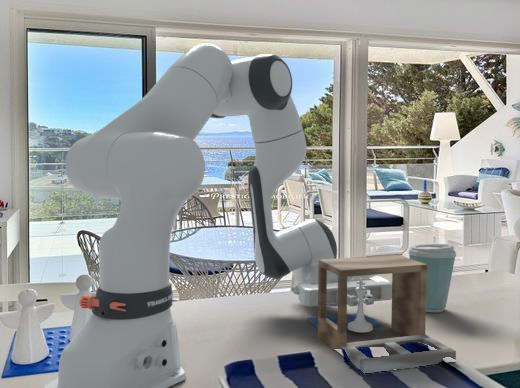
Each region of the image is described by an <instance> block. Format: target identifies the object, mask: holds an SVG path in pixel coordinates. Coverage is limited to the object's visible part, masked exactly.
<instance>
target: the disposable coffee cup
mask: <svg viewBox="0 0 520 388" xmlns="http://www.w3.org/2000/svg"><path fill="white" fill-rule="evenodd" d="M407 253H408V256H409V259H412V260H415V261H418V262H421V263H424V264H427V283H426V313H442V312H444V311H445V310H446V307H447V302H448V297H449V292H450V287H451V281H452V275H453V271H454V266H455V259H456V257H457V252H456V251H455V246H454V245H453V244H449V243H424V244H415V245H411V247H408V251H407Z"/></svg>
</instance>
